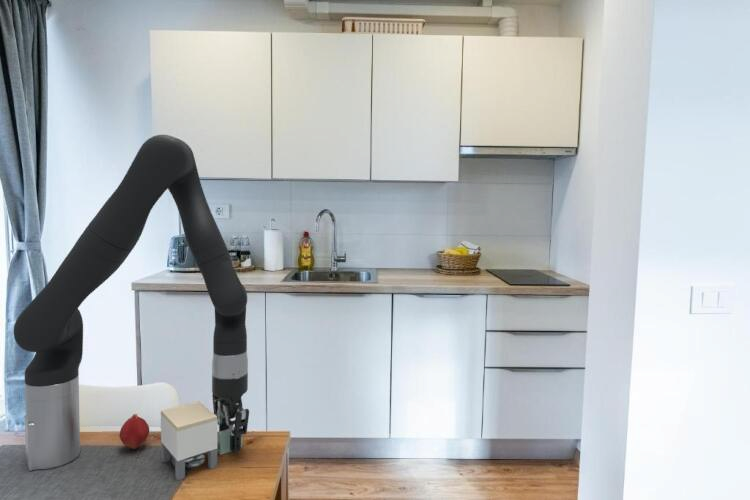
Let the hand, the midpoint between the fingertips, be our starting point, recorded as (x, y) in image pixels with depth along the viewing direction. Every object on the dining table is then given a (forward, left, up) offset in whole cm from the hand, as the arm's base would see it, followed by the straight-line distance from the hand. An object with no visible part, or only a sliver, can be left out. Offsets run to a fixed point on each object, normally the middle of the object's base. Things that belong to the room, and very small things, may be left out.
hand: (229, 445), depth 103 cm
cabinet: (-9, 0, -1) cm, 9 cm away
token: (-8, 0, -1) cm, 8 cm away
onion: (-16, +14, -1) cm, 21 cm away
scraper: (-5, 0, -1) cm, 5 cm away
